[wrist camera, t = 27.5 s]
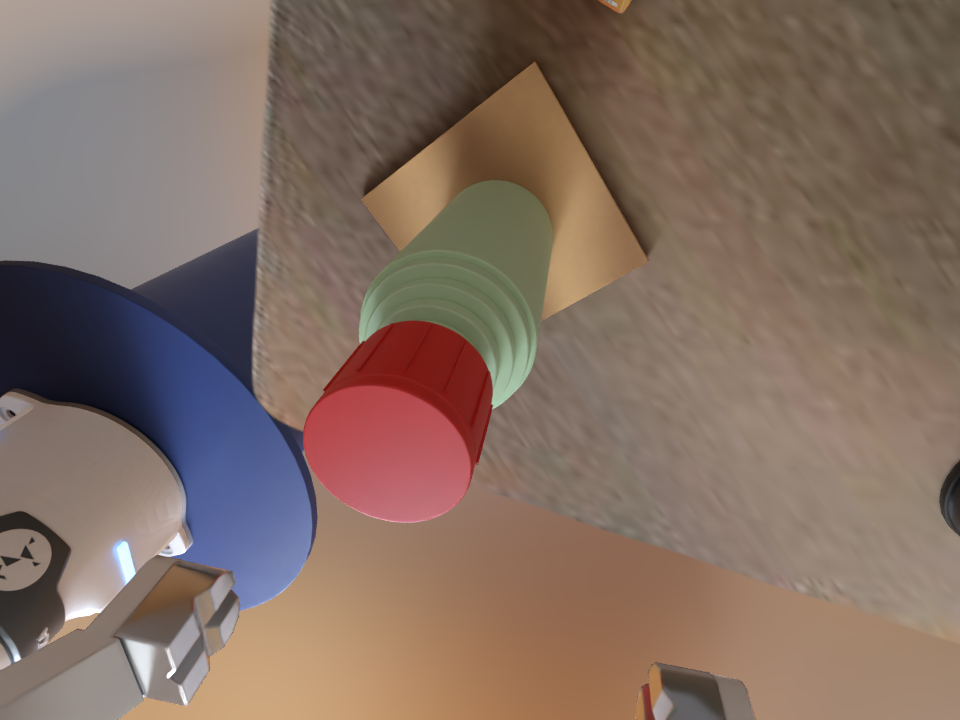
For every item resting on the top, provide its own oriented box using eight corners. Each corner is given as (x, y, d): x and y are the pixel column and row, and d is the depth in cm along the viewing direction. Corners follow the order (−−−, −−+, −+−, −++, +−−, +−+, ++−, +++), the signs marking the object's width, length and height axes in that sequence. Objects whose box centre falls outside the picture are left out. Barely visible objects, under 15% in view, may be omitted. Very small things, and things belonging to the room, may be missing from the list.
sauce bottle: (482, 310, 30) (382, 557, 14) (419, 221, 28) (227, 399, 13) (574, 256, 27) (569, 483, 12) (512, 154, 25) (413, 275, 10)
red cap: (436, 292, 13) (398, 353, 10) (521, 408, 14) (506, 489, 12) (328, 360, 15) (268, 428, 12) (411, 459, 16) (376, 541, 13)
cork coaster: (479, 352, 31) (478, 356, 31) (363, 197, 28) (360, 199, 28) (648, 259, 27) (649, 261, 27) (535, 61, 24) (534, 61, 23)
